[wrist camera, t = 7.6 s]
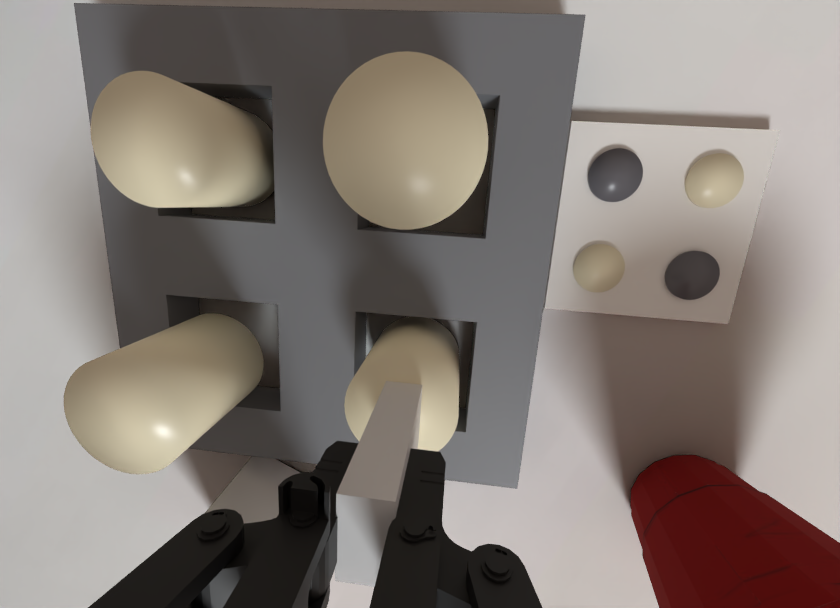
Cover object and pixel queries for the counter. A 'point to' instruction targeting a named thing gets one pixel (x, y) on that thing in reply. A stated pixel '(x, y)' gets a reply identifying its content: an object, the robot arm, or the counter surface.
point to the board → (347, 213)
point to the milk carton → (255, 490)
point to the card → (656, 219)
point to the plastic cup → (728, 542)
